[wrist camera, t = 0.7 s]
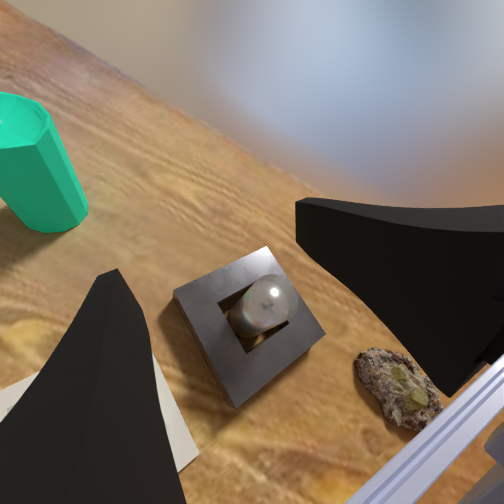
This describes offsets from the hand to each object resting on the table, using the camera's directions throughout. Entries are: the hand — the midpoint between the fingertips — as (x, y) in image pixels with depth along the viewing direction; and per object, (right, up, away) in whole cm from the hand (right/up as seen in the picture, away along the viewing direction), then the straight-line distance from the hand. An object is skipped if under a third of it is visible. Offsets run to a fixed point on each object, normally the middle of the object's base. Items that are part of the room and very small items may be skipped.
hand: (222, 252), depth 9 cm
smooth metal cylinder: (+1, -7, +17) cm, 18 cm away
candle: (-20, +4, +16) cm, 26 cm away
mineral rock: (+17, -15, +19) cm, 30 cm away
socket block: (+1, -7, +17) cm, 18 cm away
